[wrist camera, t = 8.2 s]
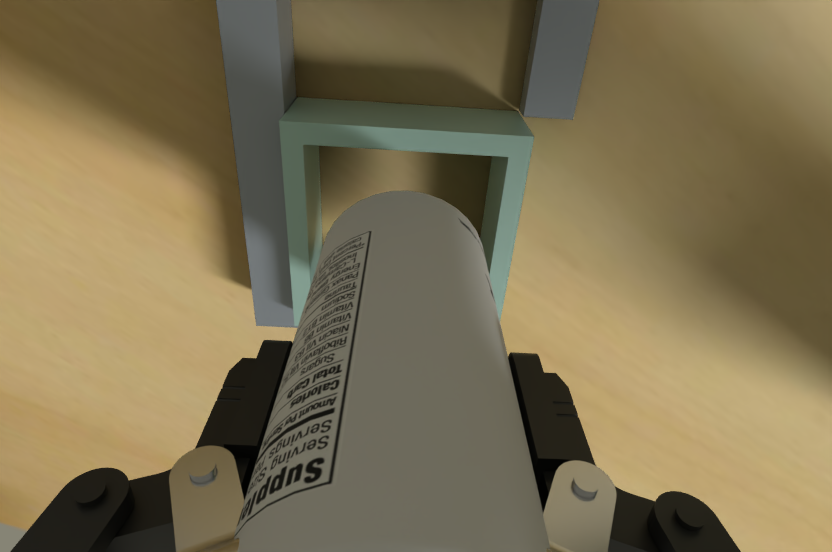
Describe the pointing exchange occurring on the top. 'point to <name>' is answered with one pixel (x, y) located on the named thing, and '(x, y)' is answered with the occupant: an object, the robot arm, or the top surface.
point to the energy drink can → (396, 400)
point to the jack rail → (371, 141)
